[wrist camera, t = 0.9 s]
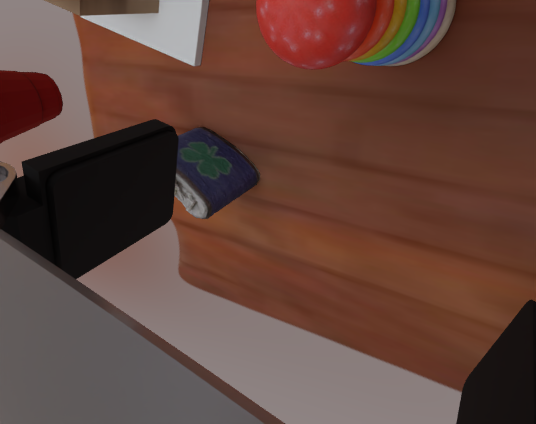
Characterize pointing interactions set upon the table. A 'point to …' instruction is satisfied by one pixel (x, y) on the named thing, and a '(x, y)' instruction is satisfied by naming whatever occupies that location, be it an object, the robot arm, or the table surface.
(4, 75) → the plastic cup
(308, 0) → the stacking toy
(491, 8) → the table surface
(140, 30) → the board
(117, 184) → the robot arm
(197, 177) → the flask
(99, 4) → the pillar
